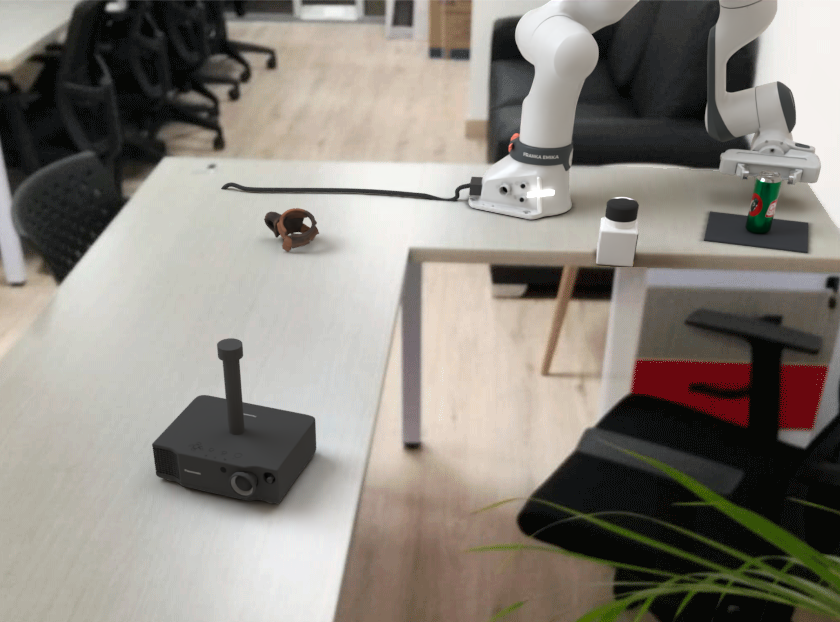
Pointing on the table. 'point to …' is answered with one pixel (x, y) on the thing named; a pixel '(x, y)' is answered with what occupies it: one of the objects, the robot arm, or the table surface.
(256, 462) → the projector
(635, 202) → the medicine bottle
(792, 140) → the robot arm
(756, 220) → the soda can
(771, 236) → the desk pad
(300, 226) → the brown curved piece
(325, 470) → the table surface
